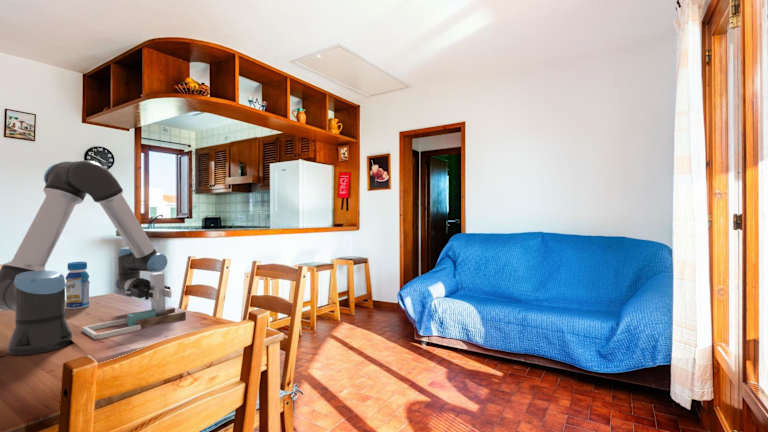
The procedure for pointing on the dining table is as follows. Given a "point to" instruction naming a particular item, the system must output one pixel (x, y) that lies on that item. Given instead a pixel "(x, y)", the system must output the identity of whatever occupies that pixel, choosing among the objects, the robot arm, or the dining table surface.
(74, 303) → the blue pill bottle
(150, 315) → the teal block
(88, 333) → the tray
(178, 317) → the channel
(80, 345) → the dining table surface
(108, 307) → the dining table surface
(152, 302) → the brushed metal bar
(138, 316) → the teal cube
